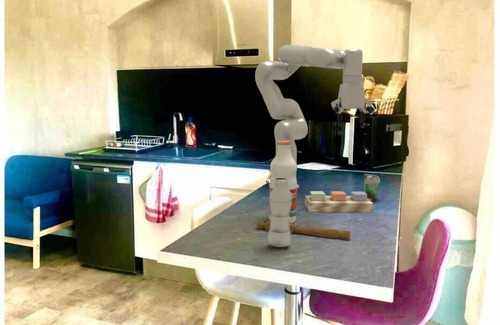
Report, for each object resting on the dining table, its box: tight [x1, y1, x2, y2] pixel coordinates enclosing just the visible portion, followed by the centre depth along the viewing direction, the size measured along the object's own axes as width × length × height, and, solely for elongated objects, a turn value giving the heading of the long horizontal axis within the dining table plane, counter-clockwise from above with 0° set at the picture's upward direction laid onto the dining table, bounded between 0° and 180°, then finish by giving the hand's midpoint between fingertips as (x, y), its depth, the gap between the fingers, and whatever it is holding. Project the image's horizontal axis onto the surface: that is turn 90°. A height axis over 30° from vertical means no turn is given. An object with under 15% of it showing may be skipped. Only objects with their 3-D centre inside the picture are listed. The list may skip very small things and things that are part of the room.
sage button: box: [309, 190, 326, 201], centre depth 175 cm, size 5×5×4 cm
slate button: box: [350, 191, 367, 201], centre depth 176 cm, size 5×5×4 cm
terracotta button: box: [330, 190, 347, 201], centre depth 176 cm, size 5×5×4 cm
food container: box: [363, 173, 381, 203], centre depth 189 cm, size 12×6×10 cm, turn 168°
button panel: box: [304, 195, 374, 214], centre depth 176 cm, size 24×12×4 cm, turn 91°
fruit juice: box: [268, 140, 298, 224], centre depth 156 cm, size 9×9×28 cm
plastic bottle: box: [267, 178, 292, 248], centre depth 131 cm, size 6×7×20 cm
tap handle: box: [256, 220, 351, 241], centre depth 144 cm, size 3×3×30 cm
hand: (351, 123), depth 185 cm, fingers open, 9 cm apart
